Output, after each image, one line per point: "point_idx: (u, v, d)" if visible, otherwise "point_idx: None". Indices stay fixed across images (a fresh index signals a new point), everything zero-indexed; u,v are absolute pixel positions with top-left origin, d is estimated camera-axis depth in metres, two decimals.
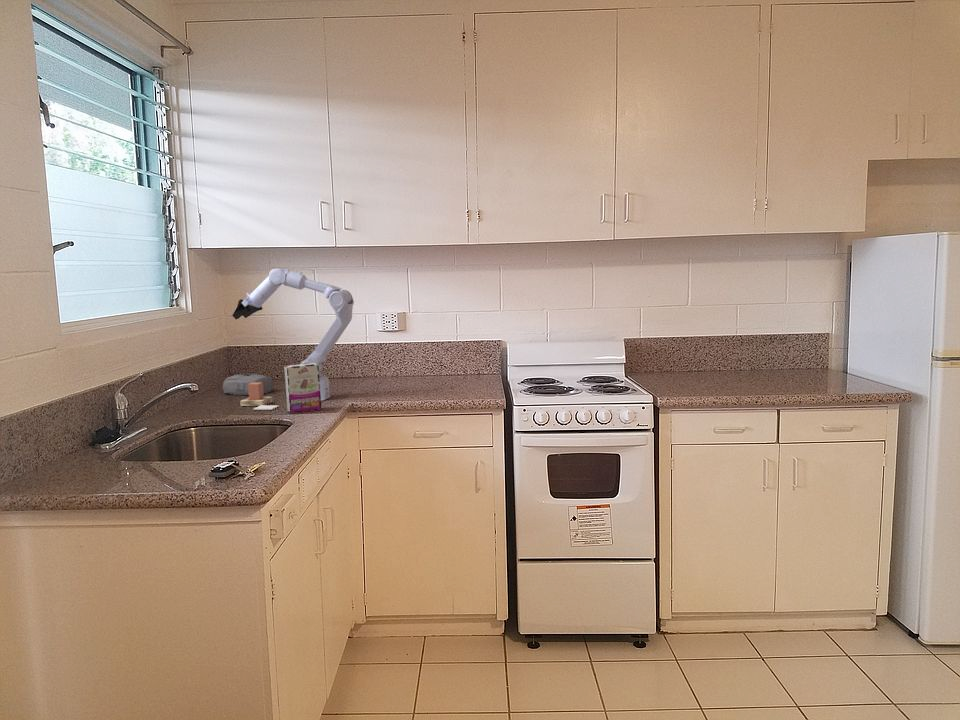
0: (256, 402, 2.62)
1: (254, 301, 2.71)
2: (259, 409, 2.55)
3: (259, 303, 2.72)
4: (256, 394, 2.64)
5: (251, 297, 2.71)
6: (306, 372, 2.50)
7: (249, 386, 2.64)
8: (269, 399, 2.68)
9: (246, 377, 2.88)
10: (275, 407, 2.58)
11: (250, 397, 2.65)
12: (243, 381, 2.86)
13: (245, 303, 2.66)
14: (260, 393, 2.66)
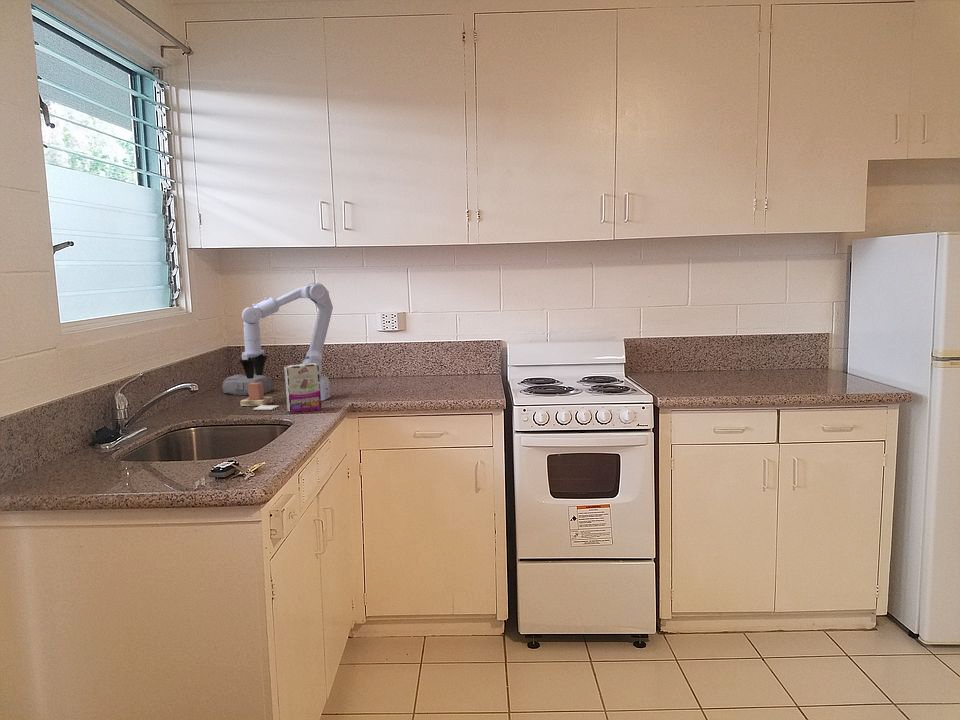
0: (256, 402, 2.62)
1: (251, 351, 2.62)
2: (259, 409, 2.55)
3: (257, 349, 2.63)
4: (256, 394, 2.64)
5: (247, 351, 2.62)
6: (306, 372, 2.50)
7: (249, 386, 2.64)
8: (269, 399, 2.68)
9: (246, 377, 2.89)
10: (275, 407, 2.58)
11: (250, 397, 2.65)
12: (243, 381, 2.86)
13: (245, 356, 2.58)
14: (260, 393, 2.66)
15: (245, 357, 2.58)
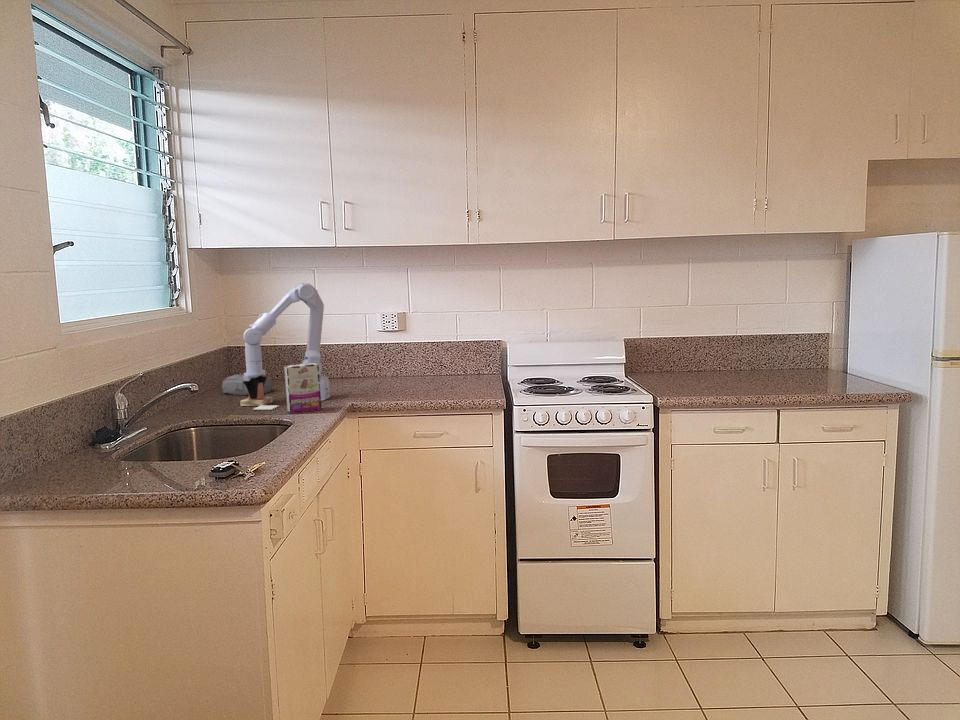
0: (256, 402, 2.62)
1: (252, 372, 2.63)
2: (259, 409, 2.55)
3: (258, 370, 2.64)
4: None
5: (248, 372, 2.63)
6: (306, 372, 2.50)
7: None
8: (269, 399, 2.68)
9: None
10: (275, 407, 2.58)
11: None
12: (242, 381, 2.86)
13: (246, 378, 2.59)
14: (260, 393, 2.66)
15: (246, 378, 2.59)
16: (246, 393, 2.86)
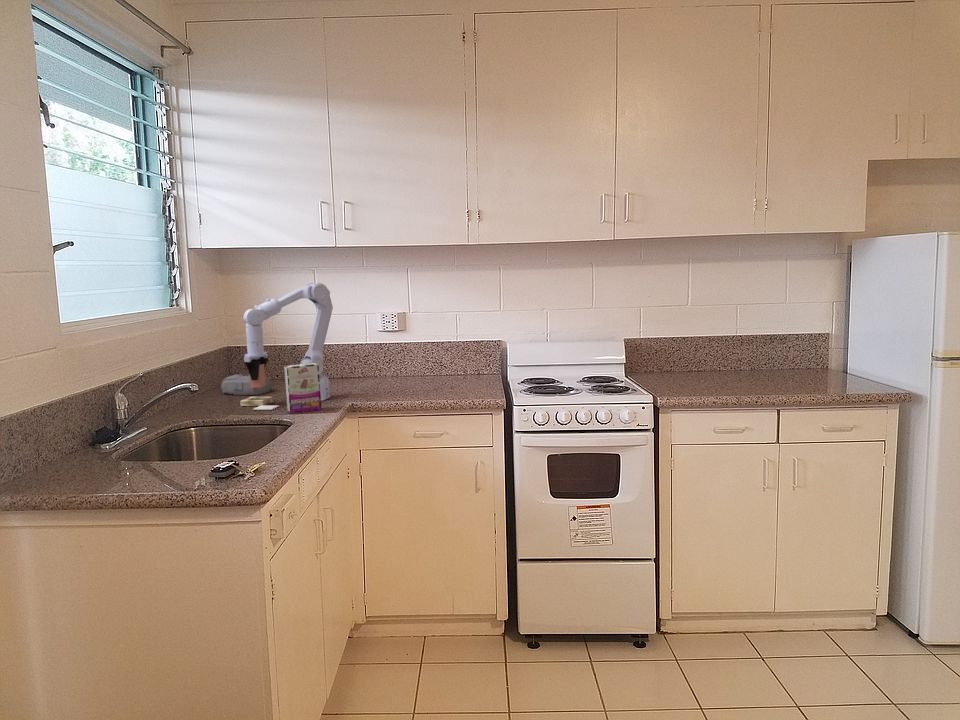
0: (256, 402, 2.62)
1: (254, 353, 2.59)
2: (259, 409, 2.55)
3: (260, 351, 2.60)
4: None
5: (249, 353, 2.60)
6: (306, 372, 2.50)
7: None
8: (269, 399, 2.68)
9: (244, 377, 2.89)
10: (275, 407, 2.58)
11: (251, 379, 2.62)
12: (242, 381, 2.86)
13: (247, 359, 2.55)
14: (261, 375, 2.63)
15: (247, 359, 2.55)
16: (245, 393, 2.87)
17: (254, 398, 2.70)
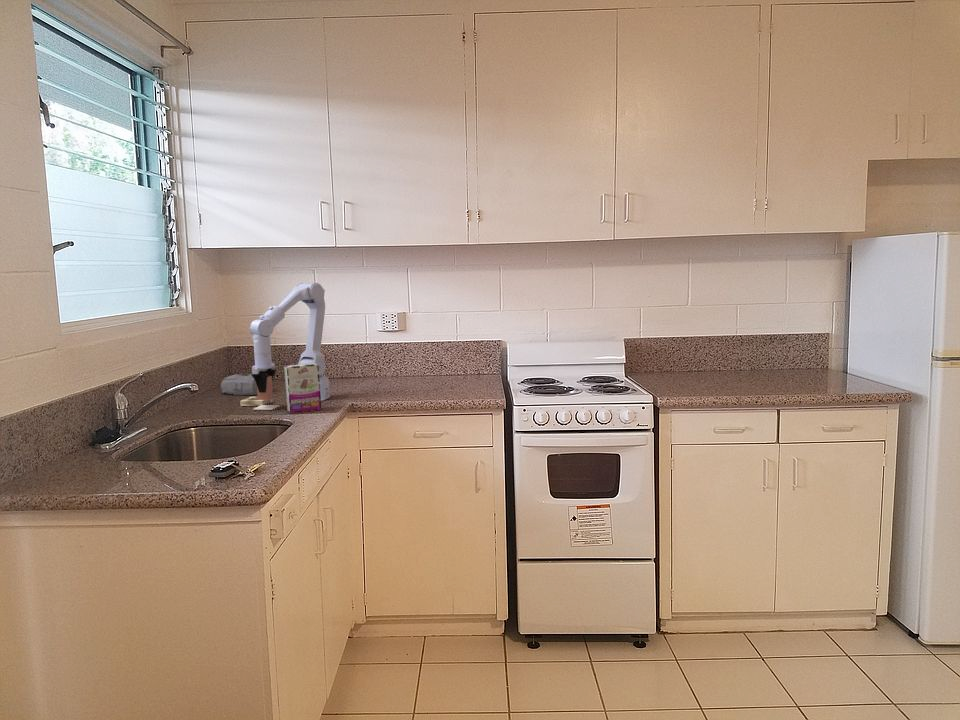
0: (256, 402, 2.62)
1: (261, 365, 2.54)
2: (259, 409, 2.55)
3: (267, 363, 2.55)
4: None
5: (257, 364, 2.54)
6: (306, 372, 2.50)
7: None
8: (269, 399, 2.68)
9: (244, 377, 2.89)
10: (275, 407, 2.58)
11: None
12: (241, 381, 2.86)
13: (255, 371, 2.49)
14: (269, 387, 2.57)
15: (255, 371, 2.49)
16: (245, 393, 2.87)
17: (254, 398, 2.70)
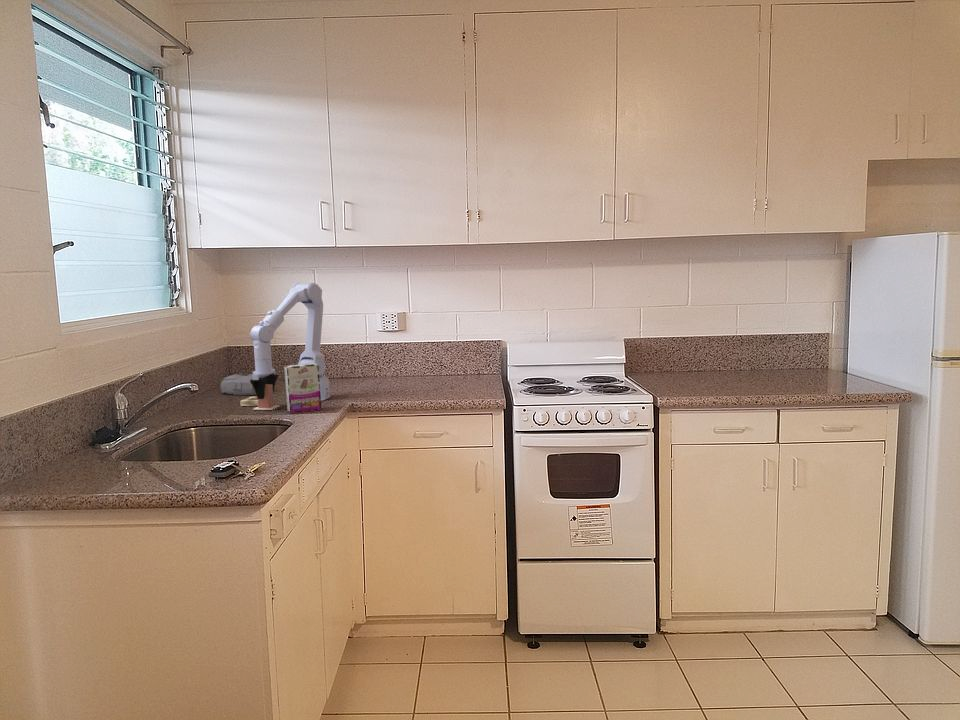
0: (256, 402, 2.62)
1: (262, 370, 2.54)
2: (259, 409, 2.55)
3: (268, 369, 2.55)
4: (265, 396, 2.56)
5: (257, 370, 2.54)
6: (306, 372, 2.50)
7: None
8: None
9: (244, 377, 2.89)
10: (275, 407, 2.58)
11: (259, 399, 2.56)
12: (241, 381, 2.86)
13: (255, 377, 2.50)
14: (270, 395, 2.57)
15: (256, 377, 2.50)
16: (244, 393, 2.87)
17: (254, 398, 2.70)
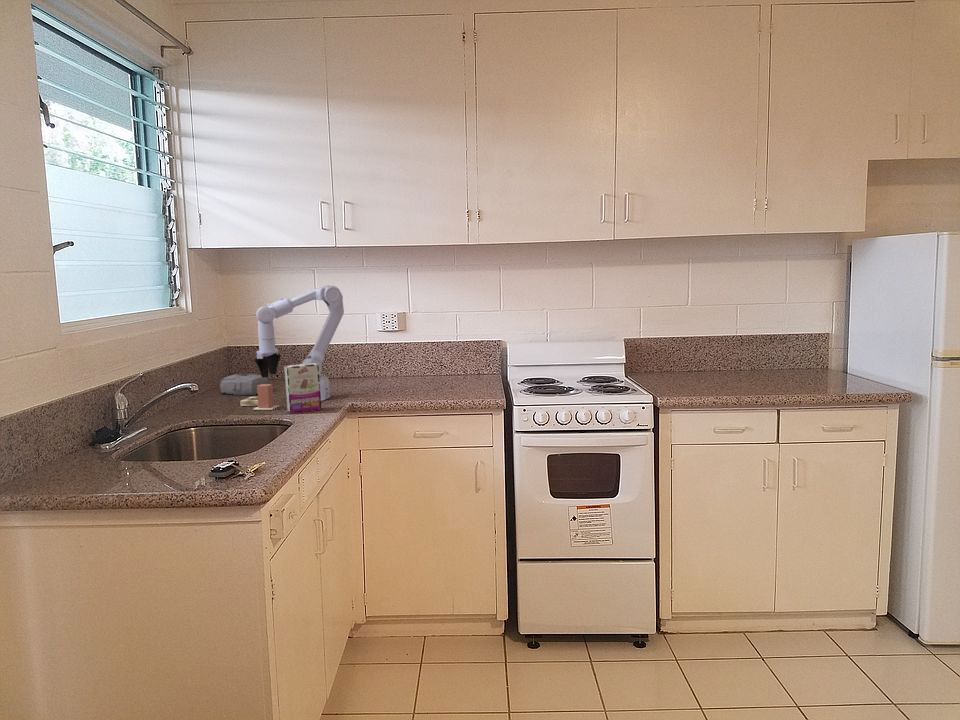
0: (256, 402, 2.62)
1: (266, 350, 2.64)
2: (259, 409, 2.55)
3: (271, 348, 2.65)
4: (265, 396, 2.56)
5: (261, 350, 2.65)
6: (306, 372, 2.50)
7: (258, 388, 2.56)
8: None
9: (243, 377, 2.89)
10: (275, 407, 2.58)
11: (259, 399, 2.56)
12: (240, 381, 2.87)
13: (260, 355, 2.60)
14: (270, 395, 2.57)
15: (260, 356, 2.60)
16: (244, 393, 2.87)
17: (254, 398, 2.70)
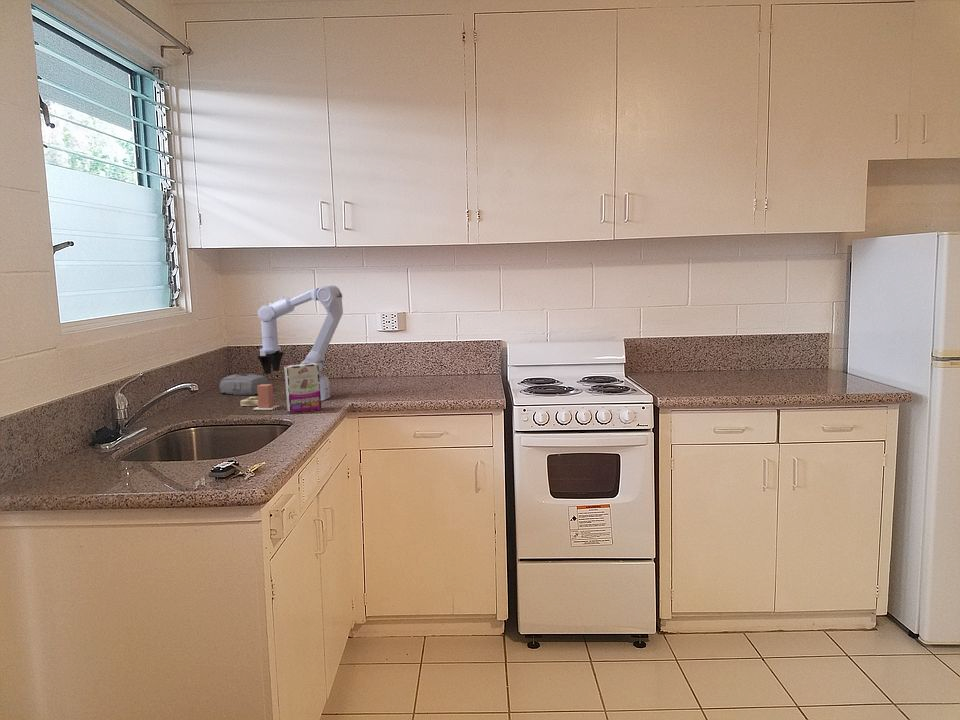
0: (256, 402, 2.62)
1: (269, 347, 2.72)
2: (259, 409, 2.55)
3: (274, 346, 2.73)
4: (265, 396, 2.56)
5: (264, 347, 2.73)
6: (306, 372, 2.50)
7: (258, 388, 2.56)
8: None
9: (243, 377, 2.89)
10: (275, 407, 2.58)
11: (259, 399, 2.56)
12: (240, 381, 2.87)
13: (263, 353, 2.68)
14: (270, 395, 2.57)
15: (263, 353, 2.68)
16: (243, 393, 2.87)
17: (254, 398, 2.70)
